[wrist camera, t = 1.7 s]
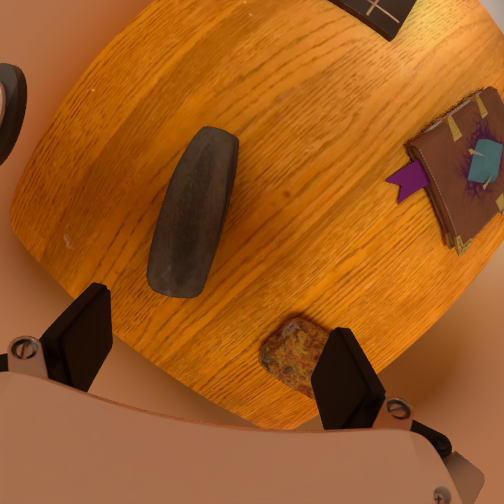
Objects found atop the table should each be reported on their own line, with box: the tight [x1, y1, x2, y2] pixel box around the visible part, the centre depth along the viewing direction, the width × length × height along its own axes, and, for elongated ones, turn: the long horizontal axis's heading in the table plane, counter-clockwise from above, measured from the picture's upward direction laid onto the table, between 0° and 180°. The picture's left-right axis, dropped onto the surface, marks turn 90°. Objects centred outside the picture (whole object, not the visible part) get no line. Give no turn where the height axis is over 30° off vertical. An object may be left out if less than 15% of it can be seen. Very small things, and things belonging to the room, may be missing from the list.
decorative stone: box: [146, 126, 239, 298], centre depth 25 cm, size 17×6×4 cm, turn 161°
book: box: [385, 86, 504, 256], centre depth 25 cm, size 16×25×5 cm, turn 127°
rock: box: [258, 317, 329, 400], centre depth 31 cm, size 11×8×10 cm
